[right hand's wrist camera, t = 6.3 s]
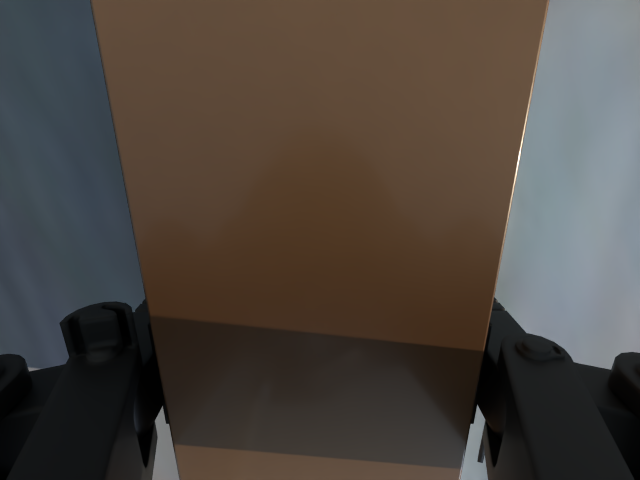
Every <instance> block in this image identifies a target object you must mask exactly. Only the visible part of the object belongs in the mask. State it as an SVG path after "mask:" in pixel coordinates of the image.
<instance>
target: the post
mask: <svg viewBox="0 0 640 480" xmlns="http://www.w3.org/2000/svg"><path fill="white" fill-rule="evenodd" d="M90 3H91V8H92V13H93V19H94V24H95V29H96V35H97V40H98V45H99V51H100V56H101V61H102V67H103V72H104V78H105V83H106V88H107V94H108V99H109V104H110V110H111V115H112V120H113V126H114V131H115V136H116V142H117V147H118V153H119V158H120V163H121V169H122V174H123V179H124V185H125V190H126V195H127V201H128V206H129V211H130V217H131V222H132V227H133V233H134V238H135V244H136V249H137V254H138V260H139V265H140V270H141V276H142V281H143V286H144V292H145V297H146V302H147V308H148V313H149V318H150V324H151V329H152V335H153V340H154V345H155V351H156V356H157V361H158V367H159V372H160V377H161V383H162V388H163V393H164V399H165V404H166V410H167V415H168V420H169V426H170V431H171V436H172V442H173V447H174V452H175V458H176V463H177V468H178V474H179V479H180V480H460V477H461V472H462V467H463V461H464V456H465V450H466V445H467V440H468V434H469V429H470V424H471V418H472V413H473V408H474V402H475V397H476V391H477V386H478V381H479V375H480V370H481V365H482V359H483V354H484V348H485V343H486V338H487V332H488V327H489V322H490V316H491V311H492V306H493V300H494V295H495V289H496V284H497V279H498V273H499V268H500V263H501V257H502V252H503V246H504V241H505V236H506V230H507V225H508V220H509V214H510V209H511V204H512V198H513V193H514V187H515V182H516V177H517V171H518V166H519V161H520V155H521V150H522V144H523V139H524V134H525V128H526V123H527V118H528V112H529V107H530V102H531V96H532V91H533V85H534V80H535V75H536V69H537V64H538V59H539V53H540V48H541V43H542V37H543V32H544V26H545V21H546V16H547V10H548V5H549V0H90Z"/></svg>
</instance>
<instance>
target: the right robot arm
mask: <svg viewBox="0 0 640 480" xmlns="http://www.w3.org/2000/svg"><path fill="white" fill-rule="evenodd" d="M60 326H61V330H62V333H63V337H64V340H65V344H66V347H67V351H68V354H69V359H68V361H67V363H66V364H64V365H60V366H55V367H50V368H45V369H40V370H35V371H29V370H28V367H27V364H26V361H25V359H24V358H23V357H21V356H20V355H14V354H3V355H0V480H152V475H153V468H154V460H155V452H156V445H157V430H156V425H155V419H156V417H157V415H158V413H159V412H160V410H161V408H162V406H163V409H164V414H165V420H166V424H169V420H168V415H167V410H166V404H165V399H164V393H163V388H162V383H161V377H160V372H159V367H158V361H157V356H156V351H155V345H154V340H153V335H152V329H151V324H150V318H149V313H148V308H147V302H146V299H145V300H144V301H143V302H142V304H140V305H139V307H138V308H137V309H136V310H135V312H132V307H130V306H129V305H128V304H126V303H121V302H103V303H98V304H93V305H89V306H87V307H84V308H81V309H78V310H76V311H75V312H73V313H71V314H69V315H68V316H66V317H65V318H64V319H63V320H62V321H61V322H60ZM477 404H478V406H479V408H480V410H481V412H482V414H483V416H484V418H485V425H484V430H483V435H482V440H481V445H480V450H479V455H478V462H481V463H483V459H484V455H485V459H486V467H487V474H488V480H640V353H635V352H628V353H621V354H619V355H618V356H617V357H615V360H614V363H613V366H612V369H611V370H609V369H604V368H599V367H594V366H589V365H583V364H579V363H575V362H573V360H572V358H571V357H570V355H569V354H568V353H567V352H566V351H565V349H563V348H562V347H561V346H559V345H558V344H556V343H555V342H553V341H550V340H548V339H546V338H543V337H541V336H537V335H532V334H528V333H526V332H525V331H524V330H523V329H522V328H521V327H520V325H519V324H518V323H517V322H516V321H515V320H514V319H513V318H512V316H511V315H510V314H509V313H508V312H507V311H505V309H504V307H503V306H502V305H501V304H500V303H498V301H497V300H496V299H495V297H494V300H493V306H492V311H491V316H490V322H489V327H488V332H487V338H486V343H485V348H484V354H483V359H482V365H481V370H480V375H479V381H478V386H477V391H476V397H475V402H474V408H473V413H472V418H471V424H474V418H475V413H476V408H477Z"/></svg>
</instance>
